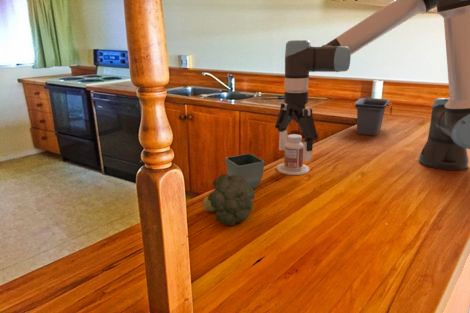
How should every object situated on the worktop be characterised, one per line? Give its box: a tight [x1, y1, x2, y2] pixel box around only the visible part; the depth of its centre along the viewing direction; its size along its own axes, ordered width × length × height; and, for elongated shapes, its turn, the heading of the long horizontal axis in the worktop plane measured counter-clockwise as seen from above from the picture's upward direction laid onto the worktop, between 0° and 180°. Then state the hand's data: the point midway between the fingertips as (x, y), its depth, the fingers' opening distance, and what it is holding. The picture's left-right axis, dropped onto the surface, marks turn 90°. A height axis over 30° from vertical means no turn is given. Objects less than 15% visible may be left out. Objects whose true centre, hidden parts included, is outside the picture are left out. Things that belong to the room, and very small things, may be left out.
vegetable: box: [202, 173, 256, 227], centre depth 93 cm, size 12×13×15 cm
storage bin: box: [354, 97, 393, 136], centre depth 173 cm, size 21×16×14 cm
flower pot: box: [225, 153, 265, 190], centre depth 111 cm, size 9×9×9 cm
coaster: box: [276, 163, 310, 176], centre depth 127 cm, size 11×11×1 cm
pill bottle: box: [284, 133, 304, 170], centre depth 125 cm, size 6×6×11 cm
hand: (294, 154), depth 125 cm, fingers open, 13 cm apart
